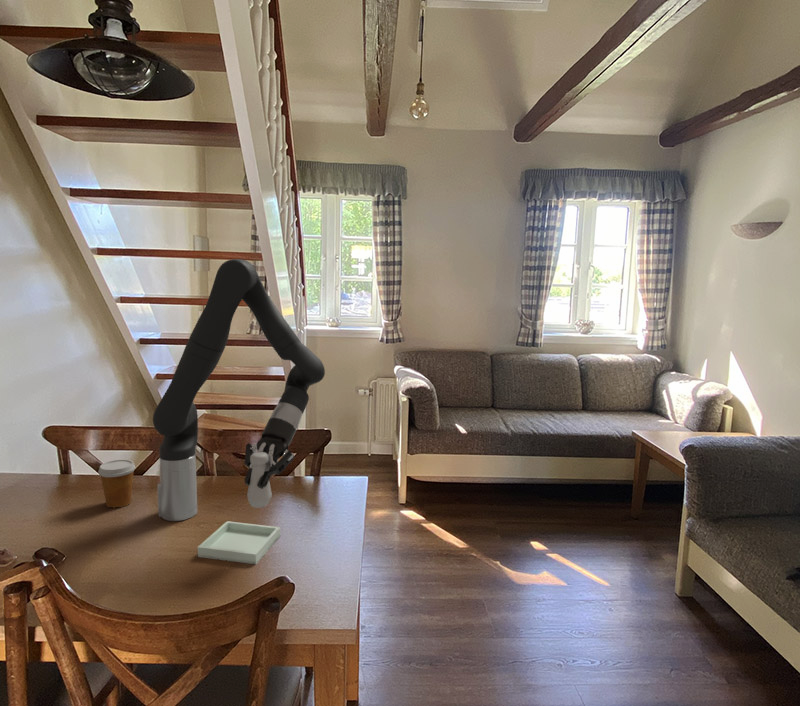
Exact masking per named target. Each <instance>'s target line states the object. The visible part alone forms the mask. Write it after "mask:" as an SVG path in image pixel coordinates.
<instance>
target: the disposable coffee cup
mask: <svg viewBox="0 0 800 706" xmlns="http://www.w3.org/2000/svg"><path fill="white" fill-rule="evenodd" d="M135 469H136V465H135V463H134V461H132V460H130V459H113V460H109V461H105V462H103V463H102V464H101V465H99V469H98V471H97V472H98V474H99V476H100V480H101V485H102V491H103V495H104V499H105V504H106V507H107V506H108V507H107V508H109V507H113V508H112V509H116V508H115V507H121V508H124V507H127V506H128V504H129V505H130V504H131V502H132V493H133V481H134V472H135ZM126 505H127V506H126ZM123 506H124V507H123Z"/></svg>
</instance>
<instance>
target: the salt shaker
mask: <svg viewBox="0 0 800 706" xmlns="http://www.w3.org/2000/svg"><path fill="white" fill-rule="evenodd" d="M268 460H269V458H268V454H267V453H265V452H258V451H256V452H255V453H253V454H252V455H251V457H250V462H251V464H253V467H252V473H251V479H250V485H249V486H248V489H247V494H246V495H247V496H246V497H247V500H248V503H249V505H250V506H251V507H253V508H255V509H258V508H260V509H261V508H265V507H266V506H268V505H269V503H270V501H271V499H272V496H273V495H272V488H271V484H270V480H269V481H268V484H267V486H266V487H263V489H261V488H259V487H258V486H257V484H258V481H259V479H260V477H261V476H262V475H263V474H264V472H266V471H265V468H266V464H267V463H268Z"/></svg>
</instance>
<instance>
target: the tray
mask: <svg viewBox="0 0 800 706" xmlns="http://www.w3.org/2000/svg"><path fill="white" fill-rule="evenodd" d="M280 537H281V527H280V526H273V525H263V524H255V523H254V524H253V523H247V522H246V523H245V522H238V521H237V522H236V521H228V520H226V522H224V523H223V524H222V525H221V526H220V527H218V529H216V530H215V531H214V532H213V533H211V535H209V536H208V537H207V538H206V539H204V541H203V542H202V543H200V544H199V545H198V546H197V557H198V558H206V559H210V560H211V559H213V560H218V559H219V560H220V561H226V560H227V561H226V562H233V563H235V562H236V563H240V564H241V563H242V564H250V565H257V564H258V563H259V562H260V561H261V560H262V558H263V557H264V556H265V555H266V553H268V551H269V550H271V548H272V547H273V546H274V544H275V543H276V542H277V541H278V540H279V539H280Z"/></svg>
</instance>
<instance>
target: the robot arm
mask: <svg viewBox="0 0 800 706" xmlns="http://www.w3.org/2000/svg"><path fill="white" fill-rule="evenodd" d="M242 301H243V302H244V303H245V304H246V305H247V306H248V308H249V309H250V311H251V313H252V315H254V317H255V319H256V322H258V325H259V327H260V329H261V331H262V333H263V335H264V337H265V338H266V340H267V341H268V343H269V344H270V346H271V347H272V348H273V350H274V351H275V353H276V354H277V355H278V357H279V358H281V360H283V361H290V362H292V363H293V364H294V366H293V367H292V368H291V369H290V370H289V373H288V375H287V378H286V383H285V387H284V391H283V393H282V394H281V397H280V398H279V401H278V403H277V405H276V406H275V408H274V409H273V411H272V413H271V415H270V416H269V419H268V421H267V423H266V425H265V426H264V429H263V431H262V432H261V433H262V434H261V437H260V439H259V440H258V441H257V443H254V444H251V443H249V442H248V443H247V444H245V455H244V465H246V467H247V468H248V472H247V473H246V475H245V477H244V484H245V485H246V486H247V487H249V485H250V479H251V473H252V467H253V464H251V462H250V457H251V455H252V454H253V453H255V452H265V453H267V454H268V458H269V460H268V463H266V468H265V471H266V472H264V474H263V475H262V476H261V477H260V479H259V481H258V484H257V486H258V487H259V488H261V489H263V487H266V486H267V484H268V481H269V482H270V480H271V479H270V478H271V476H273V475H280V474H281V473H282V472H283V471H284V470H285V469H286V468H288V466H289V465H290V464H291V463H292V462H293V461H294V459H295V454H293V452H292V451H291V450H289V446H290V444H292V442H293V438H294V436H295V434H296V433H297V429H298V428H299V426H300V424H301V420H302V417H303V414H304V413H305V410H306V408H307V405H308V403H309V400H310V398H309V397H310V396H309V393H308V390H309V388H310V386H312V385H315V384H318V383H320V382H321V381H322V380H323V379H324V377H325V375H326V371H325V366H324V363H323V362H322V360H321V359H320V358H319V357H318V356H317V355H316V354H315V353H314V352H313V351H312V350H311V349H310V348H308V346H306V345H304V343H302V341H301V340H300V338H299V337H298V336H297V334H296V333H295V331H294V330H293V329H292V328H291V326H290V325H289V323H288V322H287V320H286V318H284V316H283V315H282V314H281V312H280V311H279V309H278V308H277V305H275V303H274V302H273V300H272V298H271V296H270V295H269V293H268V292H267V290H266V288H265V286H264V284H263V282H262V280H261V278H260V276H259V273H258V272H257V270H256V268H255V266H254V265H253V264H252V263H251V262H250V261H248V260H245V259H243V258H233V259H228V260H226V261H224V262H222V264H221V265H220V266H219V268H218V269H217V272H216V275H215V278H214V281H213V284H212V288H211V290H210V292H209V296H208V300H207V302H206V304H205V306H204V308H203V310H202V312H201V314H200V316H199V317H198V320H197V321H196V324H195V325H194V328H193V330H192V331H191V334H190V336H189V338H188V340H187V343H186V345H185V347H184V350H183V353H182V355H181V357H180V359H179V362H178V364H177V367H176V368H175V372H174V373H173V376H172V379H171V381H170V384H169V385H168V386H167V389H166V390H165V393H164V394H163V396H162V397H161V399H160V401H159V403H158V404H157V406H156V408H155V410H154V411H153V416H152V423H153V427H154V429H155V430H156V432H157V433H158V434H159V435H162V436H163V440H162V443H161V444H160V446H159V449H158V451H159V452H158V453H159V470H160V471H159V473H160V474H159V475H160V482H159V483H157V486H156V487H157V507H158V517H159V518H162V519H163V520H165V521H171V522H179V521H185V520H188V519H190V518H193V517H194V516H196V515H197V514H198V492H197V491H198V490H197V461H196V460H197V459H196V448H197V445H198V438H199V436H198V434H199V432H198V429H199V428H198V427H199V425H198V424H199V417H198V410H197V406H196V404H195V403H194V401H195V398H196V396H197V394H198V392H199V391H200V389H201V388H202V387H203V385H204V384H205V382H207V380H208V378H209V377H210V376H211V375H212V374H213V372H214V370H215V369H216V367H217V365H218V364H219V362H220V359H221V358H222V355H223V353H224V351H225V348H226V346H227V343H228V340H229V335H230V331H231V326H232V322H233V318H234V315H235V313H236V311H237V308H238V306H239V305H240V304H241V302H242Z"/></svg>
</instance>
